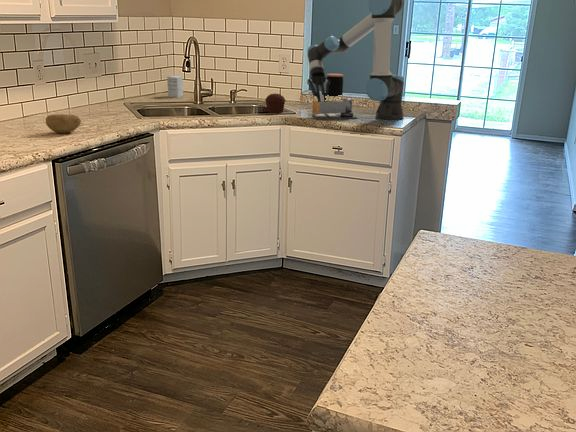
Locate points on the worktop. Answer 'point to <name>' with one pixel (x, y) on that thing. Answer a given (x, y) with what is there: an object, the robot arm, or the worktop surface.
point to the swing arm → (332, 106)
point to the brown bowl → (63, 123)
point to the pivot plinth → (347, 116)
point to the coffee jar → (335, 84)
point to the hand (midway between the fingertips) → (322, 106)
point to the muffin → (275, 103)
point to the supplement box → (175, 86)
